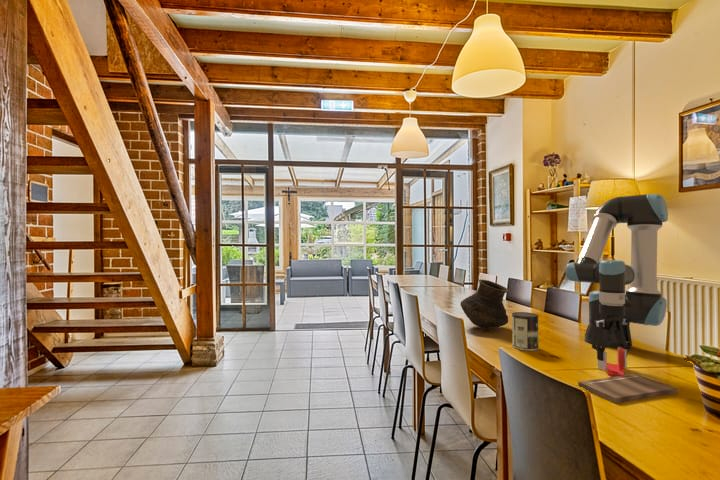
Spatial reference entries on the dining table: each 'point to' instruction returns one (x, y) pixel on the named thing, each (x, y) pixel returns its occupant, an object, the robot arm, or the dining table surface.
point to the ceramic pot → (486, 305)
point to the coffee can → (525, 331)
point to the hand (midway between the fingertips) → (612, 368)
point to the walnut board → (627, 388)
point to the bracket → (616, 366)
